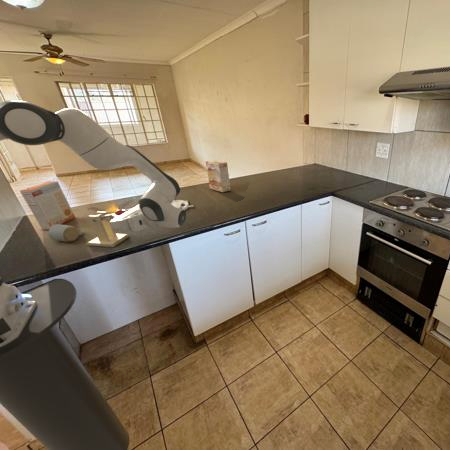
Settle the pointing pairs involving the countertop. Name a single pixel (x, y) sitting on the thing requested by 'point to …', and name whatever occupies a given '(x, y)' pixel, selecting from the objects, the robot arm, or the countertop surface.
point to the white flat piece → (178, 204)
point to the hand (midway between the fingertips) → (117, 214)
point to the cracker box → (48, 204)
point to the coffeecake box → (218, 175)
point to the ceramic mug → (64, 233)
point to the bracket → (104, 232)
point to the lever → (110, 214)
